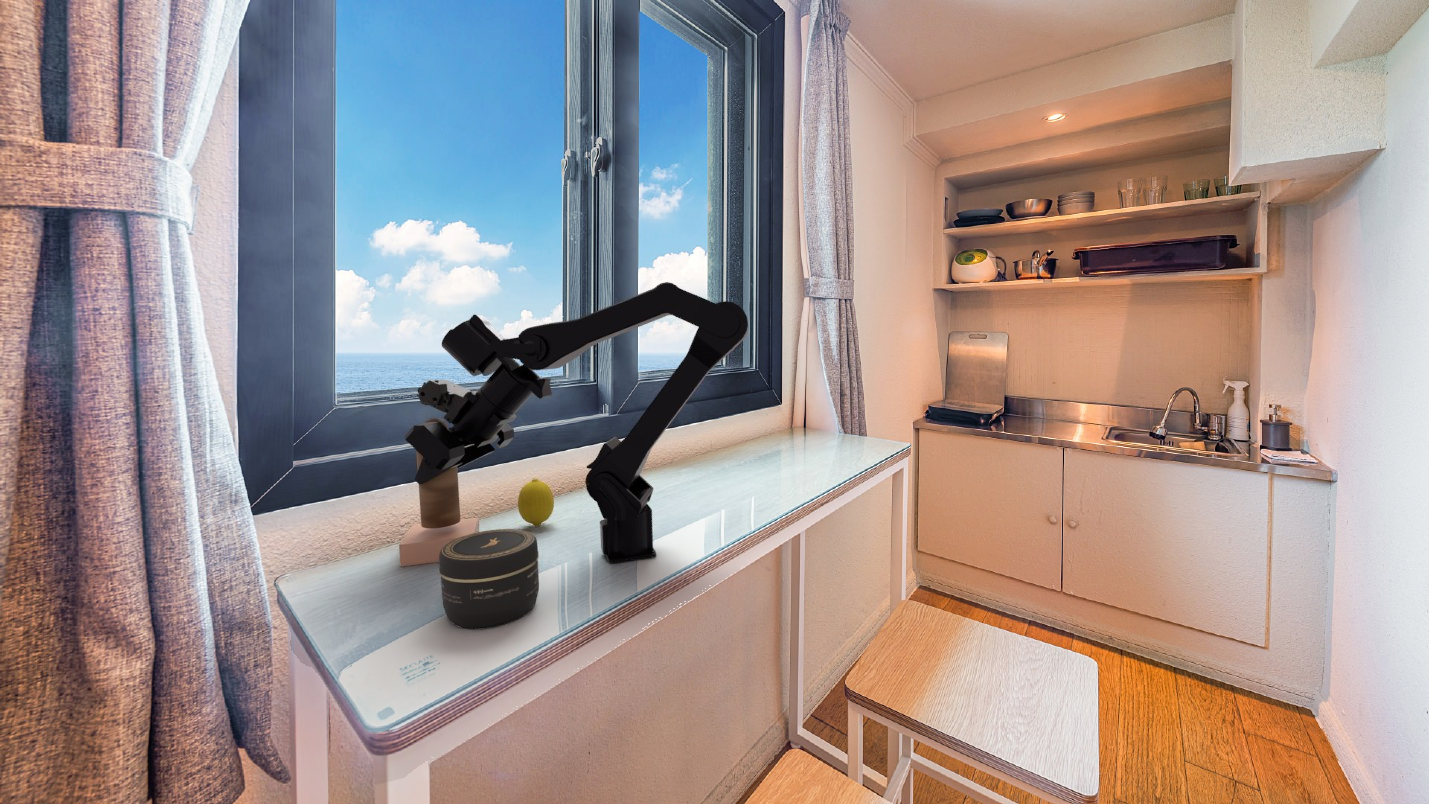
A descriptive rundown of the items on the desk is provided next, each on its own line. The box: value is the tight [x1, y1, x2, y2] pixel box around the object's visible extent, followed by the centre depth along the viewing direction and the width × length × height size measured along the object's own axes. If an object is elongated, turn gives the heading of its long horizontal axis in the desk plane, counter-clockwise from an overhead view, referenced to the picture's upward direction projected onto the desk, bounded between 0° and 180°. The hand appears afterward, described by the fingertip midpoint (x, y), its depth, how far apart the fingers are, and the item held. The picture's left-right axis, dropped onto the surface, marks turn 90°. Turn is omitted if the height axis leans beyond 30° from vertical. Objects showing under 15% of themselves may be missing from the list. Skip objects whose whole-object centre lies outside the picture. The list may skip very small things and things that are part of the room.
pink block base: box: [398, 517, 480, 568], centre depth 76 cm, size 9×9×3 cm
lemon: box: [517, 478, 555, 528], centre depth 86 cm, size 6×6×8 cm
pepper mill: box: [415, 417, 461, 529], centre depth 75 cm, size 5×5×15 cm
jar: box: [438, 528, 540, 630], centre depth 58 cm, size 10×10×8 cm
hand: (429, 477), depth 75 cm, fingers closed on pepper mill, 5 cm apart
